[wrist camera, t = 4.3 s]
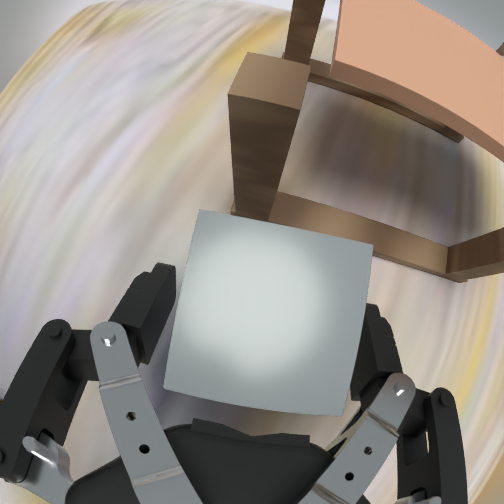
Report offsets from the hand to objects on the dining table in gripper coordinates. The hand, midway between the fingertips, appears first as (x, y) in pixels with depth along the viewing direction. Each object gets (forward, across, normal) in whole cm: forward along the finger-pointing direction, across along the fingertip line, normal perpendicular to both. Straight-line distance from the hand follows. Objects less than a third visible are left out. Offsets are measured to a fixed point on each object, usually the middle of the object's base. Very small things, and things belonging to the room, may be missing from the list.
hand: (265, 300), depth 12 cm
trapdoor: (+5, -10, -11) cm, 16 cm away
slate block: (0, 0, +1) cm, 1 cm away
